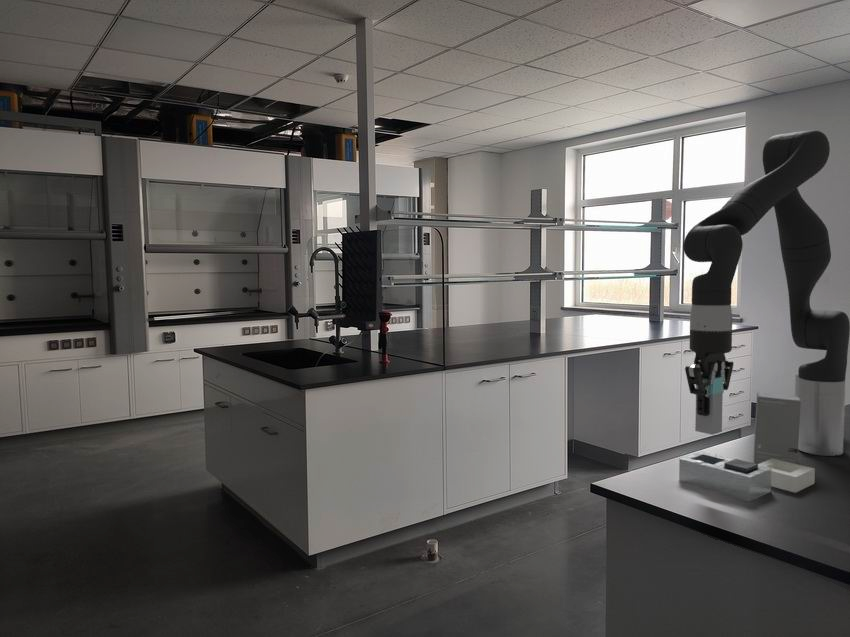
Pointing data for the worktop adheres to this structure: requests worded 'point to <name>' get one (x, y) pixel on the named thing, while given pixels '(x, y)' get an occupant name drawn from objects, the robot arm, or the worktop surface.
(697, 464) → the metal switch box
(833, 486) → the worktop surface
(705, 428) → the plug
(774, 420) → the skincare box
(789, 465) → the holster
